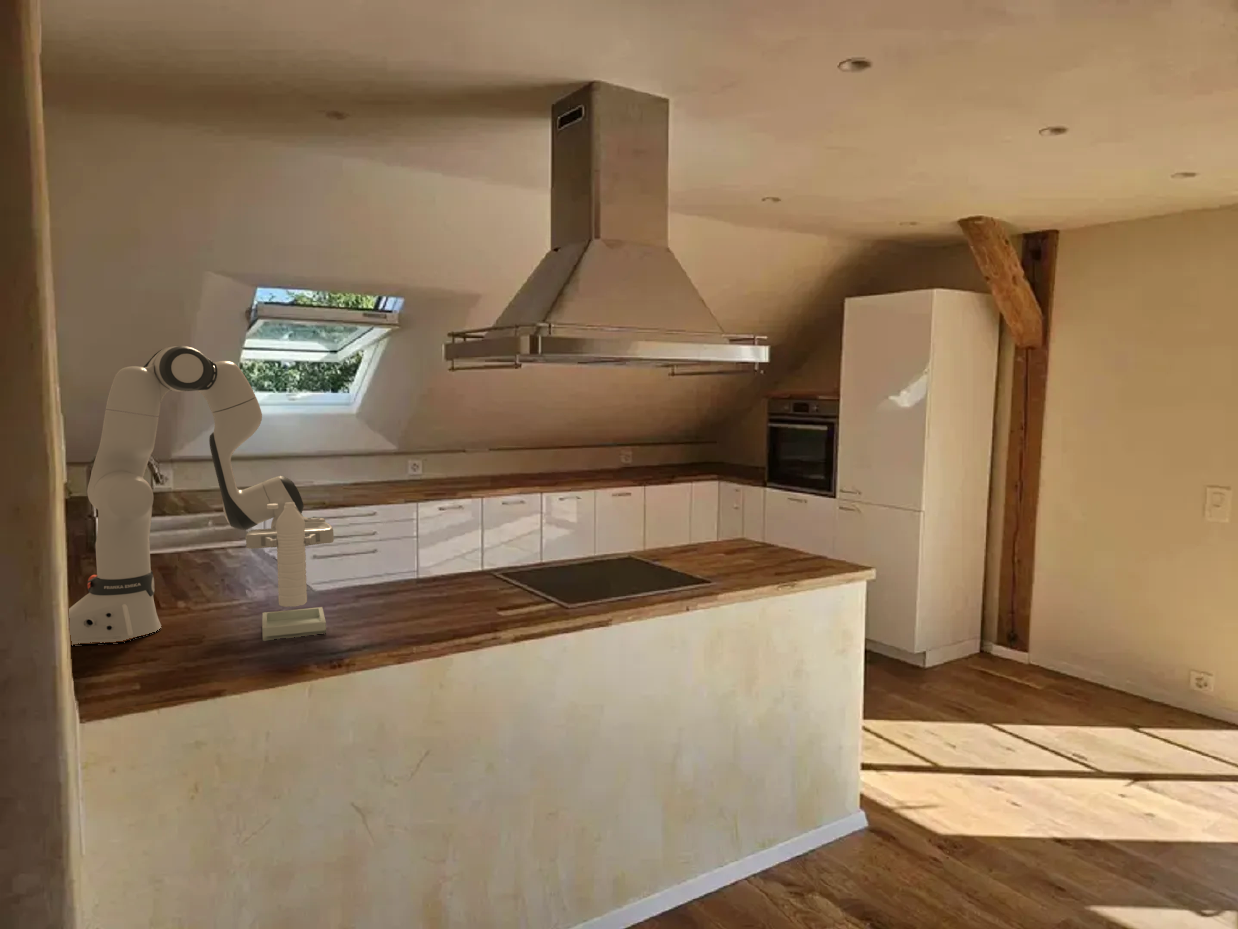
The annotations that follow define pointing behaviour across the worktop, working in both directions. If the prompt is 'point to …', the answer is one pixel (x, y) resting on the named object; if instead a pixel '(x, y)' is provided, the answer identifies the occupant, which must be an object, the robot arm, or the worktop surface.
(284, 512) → the water bottle
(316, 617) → the sage tray
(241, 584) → the worktop surface
